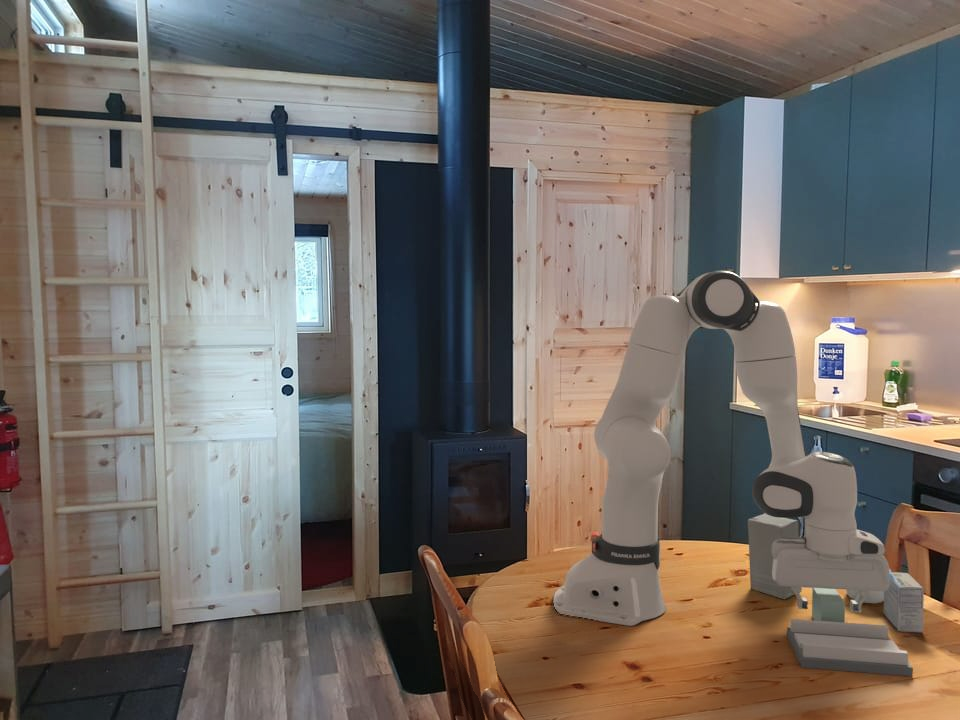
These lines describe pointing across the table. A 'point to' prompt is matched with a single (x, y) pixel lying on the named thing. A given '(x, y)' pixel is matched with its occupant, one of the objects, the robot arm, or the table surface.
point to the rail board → (847, 647)
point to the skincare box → (768, 552)
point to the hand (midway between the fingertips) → (828, 609)
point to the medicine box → (904, 603)
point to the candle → (872, 595)
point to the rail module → (827, 605)
